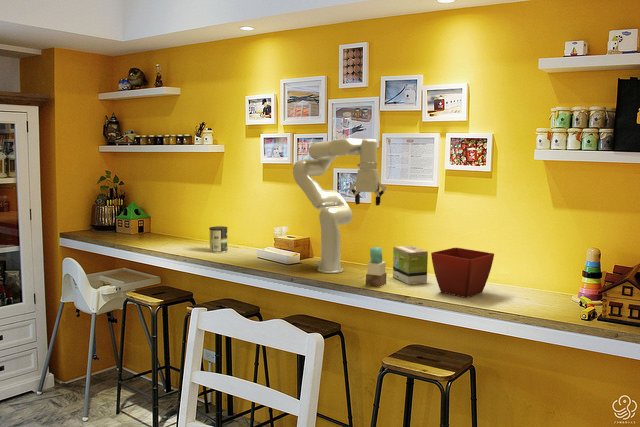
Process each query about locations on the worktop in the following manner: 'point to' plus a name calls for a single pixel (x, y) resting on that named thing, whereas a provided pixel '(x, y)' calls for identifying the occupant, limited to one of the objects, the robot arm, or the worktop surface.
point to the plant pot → (462, 270)
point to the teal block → (376, 255)
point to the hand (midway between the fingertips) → (367, 204)
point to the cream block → (376, 268)
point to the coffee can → (218, 239)
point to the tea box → (410, 264)
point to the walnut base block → (376, 279)
